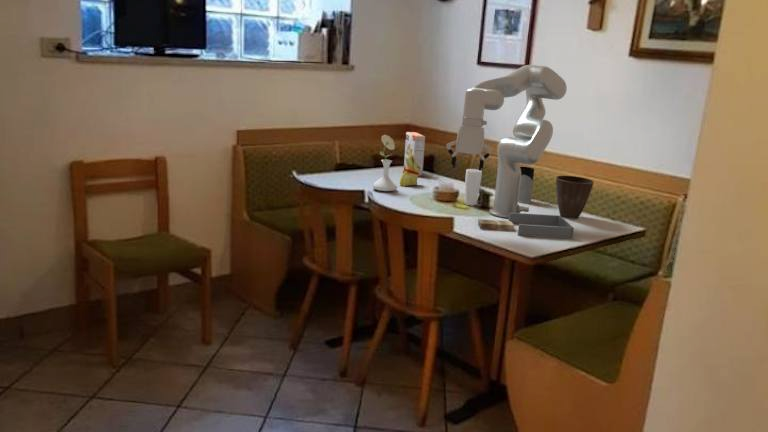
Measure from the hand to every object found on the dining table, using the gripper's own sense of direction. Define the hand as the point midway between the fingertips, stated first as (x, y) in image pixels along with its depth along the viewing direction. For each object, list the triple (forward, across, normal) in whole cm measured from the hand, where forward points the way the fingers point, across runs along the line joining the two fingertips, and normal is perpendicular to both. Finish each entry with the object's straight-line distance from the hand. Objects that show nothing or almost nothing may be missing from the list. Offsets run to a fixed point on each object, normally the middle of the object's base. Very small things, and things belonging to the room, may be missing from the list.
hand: (466, 168), depth 248 cm
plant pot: (+20, -45, -29) cm, 57 cm away
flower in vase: (+21, +36, -48) cm, 63 cm away
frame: (+21, -30, -2) cm, 36 cm away
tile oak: (+21, -17, 0) cm, 27 cm away
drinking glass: (+20, -4, -35) cm, 40 cm away
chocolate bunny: (+20, +26, -65) cm, 73 cm away
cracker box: (+20, +26, -94) cm, 100 cm away
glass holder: (+20, -27, -55) cm, 64 cm away
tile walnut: (+22, -10, +1) cm, 24 cm away
